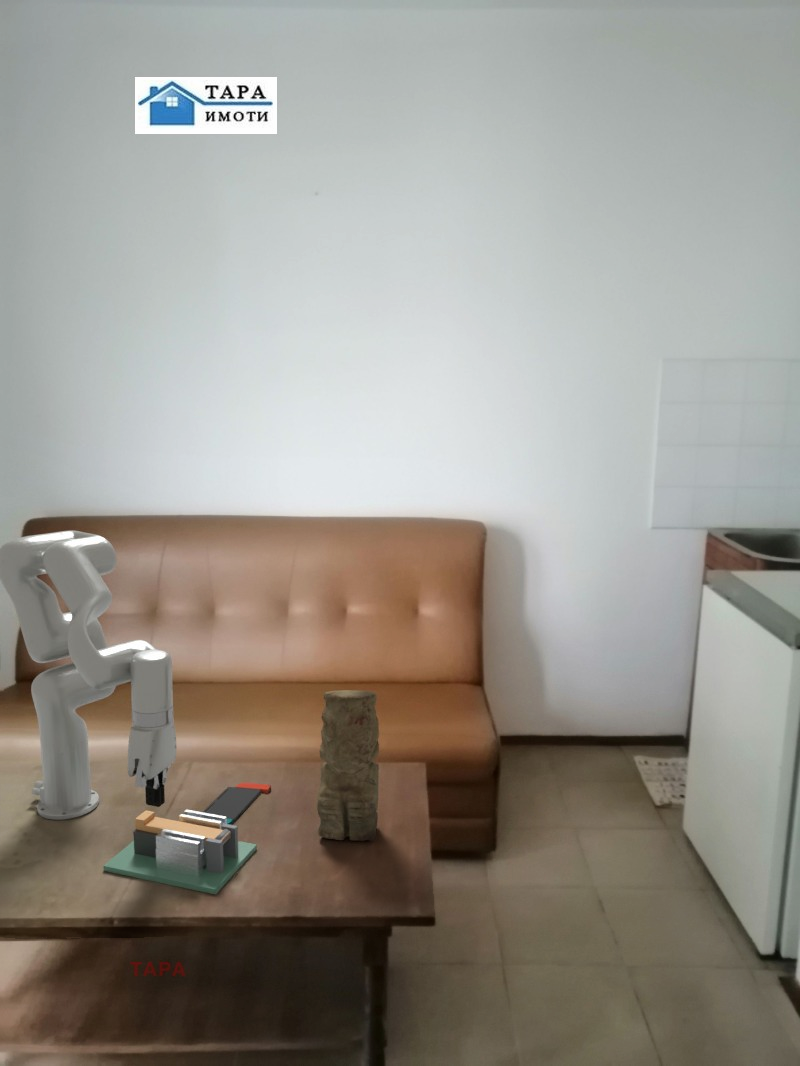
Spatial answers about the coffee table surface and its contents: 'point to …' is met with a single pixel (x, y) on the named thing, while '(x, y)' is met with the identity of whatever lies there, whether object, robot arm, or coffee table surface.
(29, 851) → the coffee table surface
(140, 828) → the tan long bar
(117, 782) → the coffee table surface
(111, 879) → the coffee table surface
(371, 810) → the sculpture
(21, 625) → the robot arm
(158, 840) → the heat sink
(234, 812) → the gaming console
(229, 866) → the board
